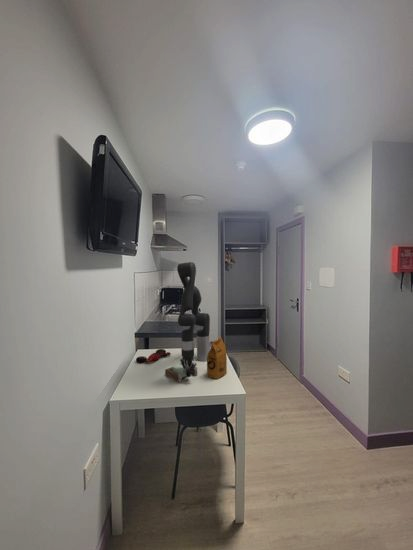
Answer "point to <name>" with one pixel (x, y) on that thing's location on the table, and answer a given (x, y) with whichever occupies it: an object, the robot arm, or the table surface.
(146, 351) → the table surface
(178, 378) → the bay
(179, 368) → the cart
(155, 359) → the toy motorcycle
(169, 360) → the table surface
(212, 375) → the coffee package
